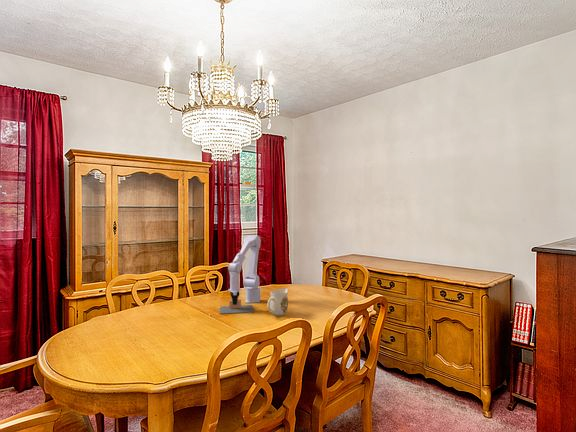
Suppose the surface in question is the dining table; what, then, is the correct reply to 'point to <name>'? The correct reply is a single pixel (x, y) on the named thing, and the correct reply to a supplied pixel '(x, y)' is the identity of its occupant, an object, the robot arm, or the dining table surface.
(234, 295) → the robot arm
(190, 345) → the dining table surface
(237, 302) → the tile
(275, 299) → the pitcher
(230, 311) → the mat
